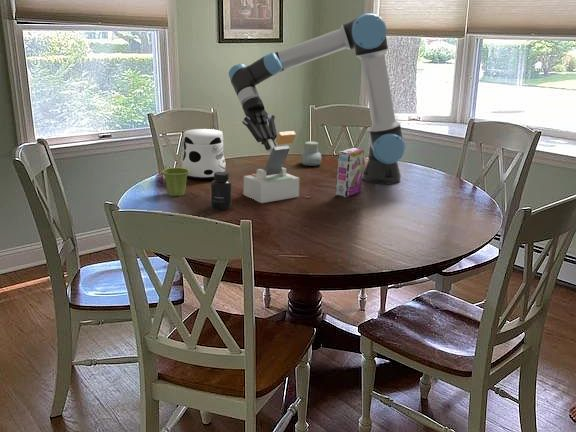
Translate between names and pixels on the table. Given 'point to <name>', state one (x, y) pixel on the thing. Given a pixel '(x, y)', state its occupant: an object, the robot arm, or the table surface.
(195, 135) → the white black spotted container
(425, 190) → the table surface
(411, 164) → the table surface
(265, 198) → the switch box
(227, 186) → the supplement bottle
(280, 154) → the switch lever
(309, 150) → the air freshener
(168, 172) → the plant pot
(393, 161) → the robot arm
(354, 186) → the candy bar box
